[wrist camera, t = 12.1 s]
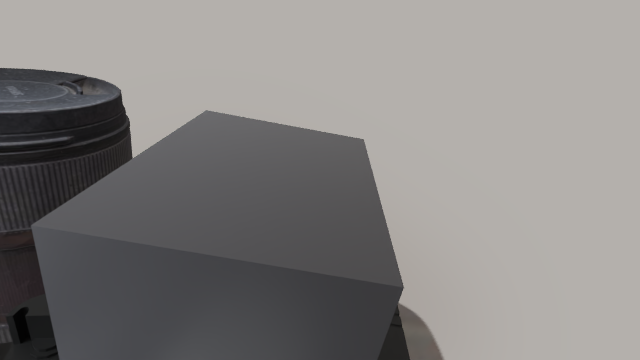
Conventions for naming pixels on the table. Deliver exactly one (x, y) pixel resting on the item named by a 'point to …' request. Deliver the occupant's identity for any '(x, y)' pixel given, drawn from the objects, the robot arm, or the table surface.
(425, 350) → the table surface
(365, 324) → the tall grey pillar
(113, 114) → the camera lens
